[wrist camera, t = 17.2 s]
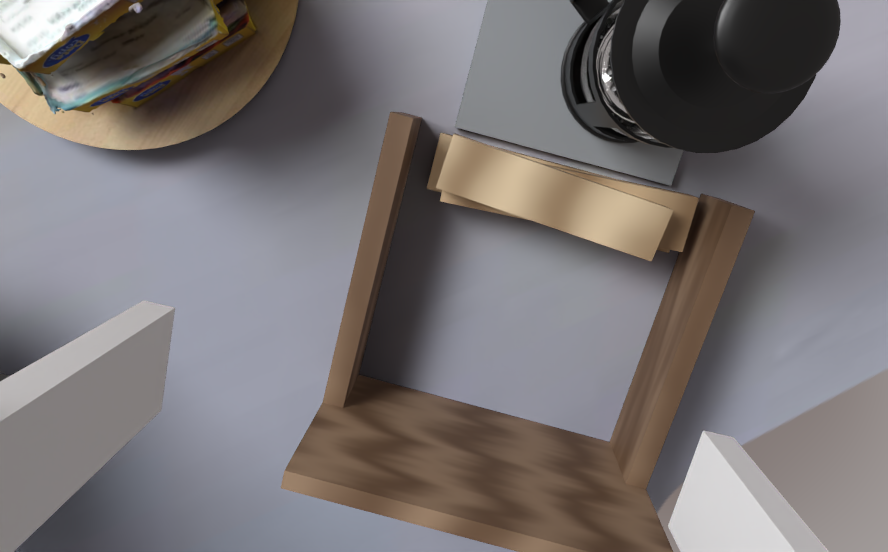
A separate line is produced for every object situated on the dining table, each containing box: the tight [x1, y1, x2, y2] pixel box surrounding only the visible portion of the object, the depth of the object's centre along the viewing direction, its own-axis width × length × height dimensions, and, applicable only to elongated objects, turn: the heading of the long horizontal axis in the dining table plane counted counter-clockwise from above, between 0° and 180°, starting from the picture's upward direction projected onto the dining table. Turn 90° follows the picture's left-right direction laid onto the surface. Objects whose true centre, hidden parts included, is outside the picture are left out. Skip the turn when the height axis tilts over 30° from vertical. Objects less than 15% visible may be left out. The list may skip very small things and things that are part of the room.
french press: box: [560, 0, 840, 153], centre depth 32 cm, size 12×9×23 cm
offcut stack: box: [427, 133, 699, 261], centre depth 44 cm, size 18×5×6 cm, turn 76°
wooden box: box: [281, 112, 755, 552], centre depth 42 cm, size 24×22×15 cm
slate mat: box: [455, 0, 684, 186], centre depth 44 cm, size 16×13×1 cm
